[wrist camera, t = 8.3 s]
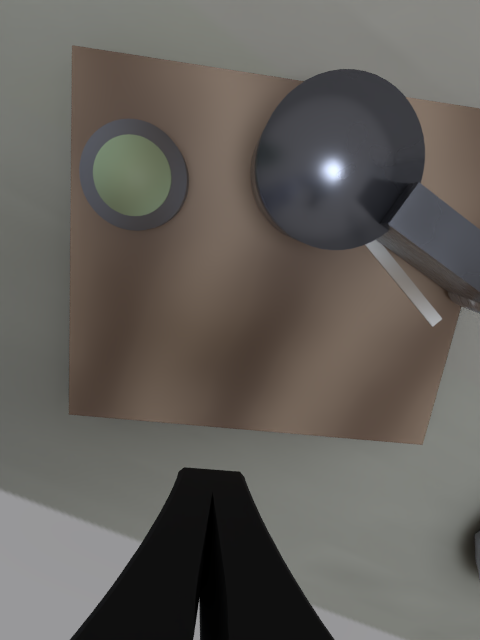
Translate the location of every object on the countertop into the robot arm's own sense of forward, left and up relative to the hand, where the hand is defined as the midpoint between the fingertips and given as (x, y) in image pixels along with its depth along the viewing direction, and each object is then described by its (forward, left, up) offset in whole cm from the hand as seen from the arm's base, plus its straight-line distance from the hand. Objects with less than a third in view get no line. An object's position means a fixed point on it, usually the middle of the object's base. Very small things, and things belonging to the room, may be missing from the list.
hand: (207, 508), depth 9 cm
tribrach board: (+2, +4, -9) cm, 10 cm away
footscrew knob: (+6, +7, -8) cm, 12 cm away
